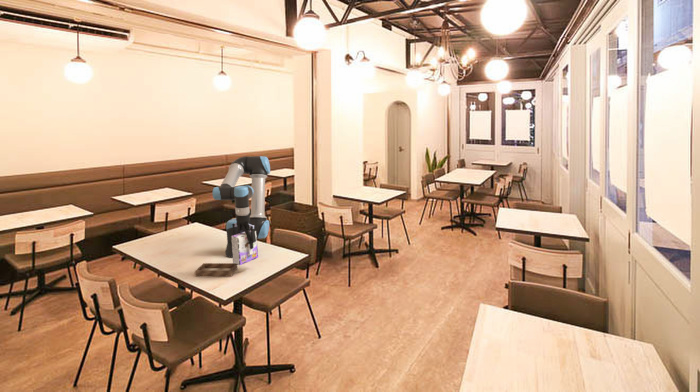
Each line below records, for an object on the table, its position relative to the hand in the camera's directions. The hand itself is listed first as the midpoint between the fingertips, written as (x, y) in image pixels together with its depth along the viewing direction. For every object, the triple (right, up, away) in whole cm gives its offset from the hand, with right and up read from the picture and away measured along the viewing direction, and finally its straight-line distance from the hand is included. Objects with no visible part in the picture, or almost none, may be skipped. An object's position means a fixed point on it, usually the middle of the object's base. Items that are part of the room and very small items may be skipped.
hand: (245, 253), depth 225 cm
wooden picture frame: (-17, -12, +2) cm, 21 cm away
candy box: (0, -5, +1) cm, 5 cm away
